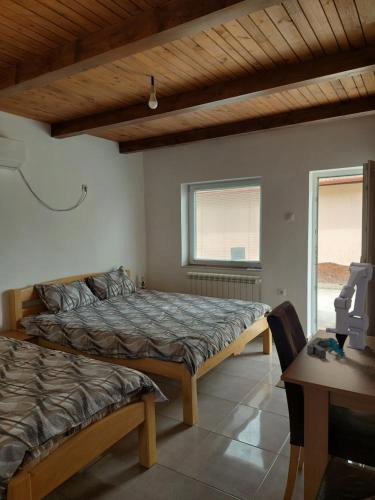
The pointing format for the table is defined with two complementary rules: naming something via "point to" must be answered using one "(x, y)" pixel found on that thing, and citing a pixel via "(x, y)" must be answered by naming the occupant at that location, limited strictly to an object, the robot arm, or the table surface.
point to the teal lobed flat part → (335, 347)
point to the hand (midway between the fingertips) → (341, 348)
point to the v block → (318, 347)
